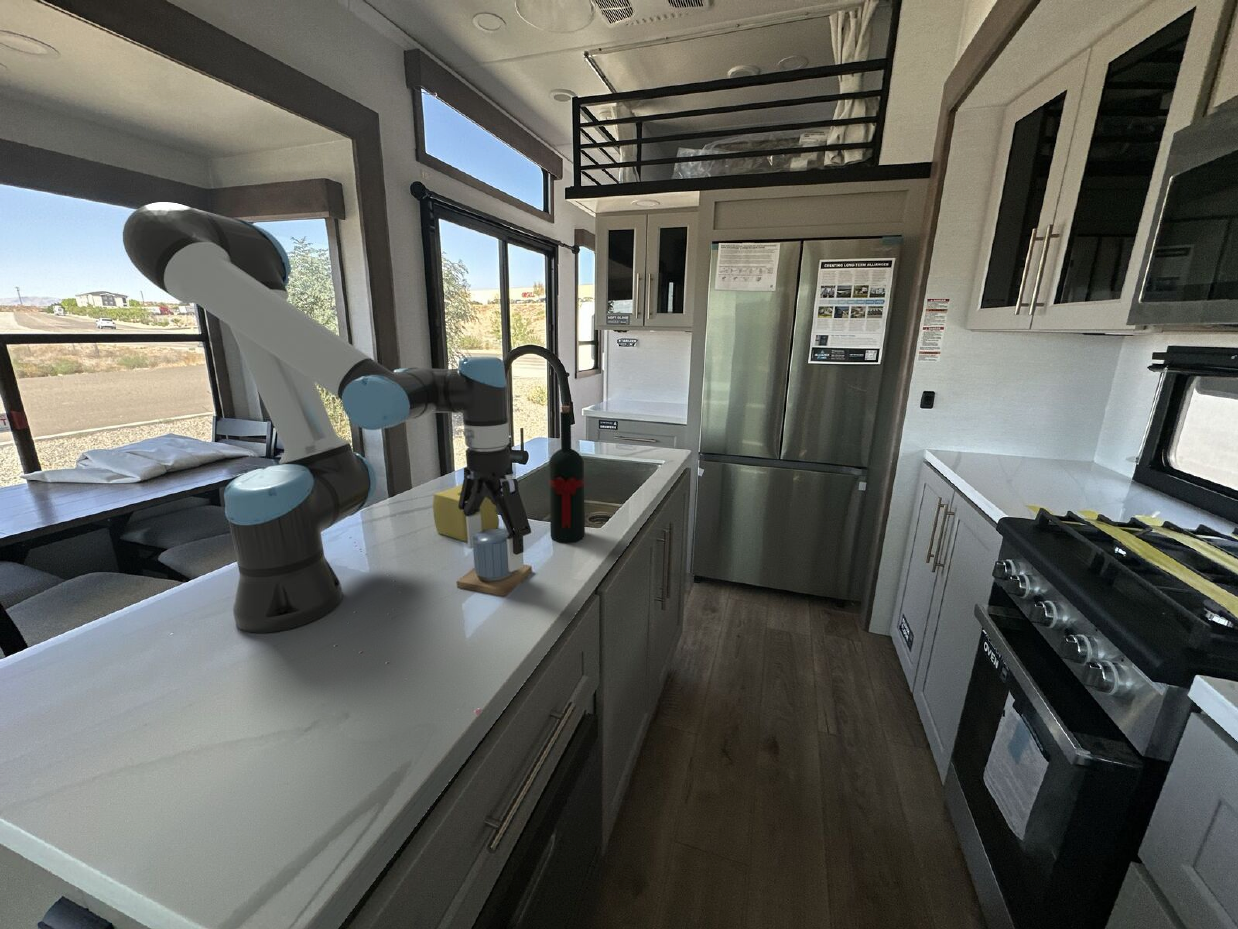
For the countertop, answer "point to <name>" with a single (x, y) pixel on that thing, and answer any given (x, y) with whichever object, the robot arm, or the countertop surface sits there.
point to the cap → (491, 553)
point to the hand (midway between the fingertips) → (494, 557)
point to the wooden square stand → (494, 581)
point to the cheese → (460, 514)
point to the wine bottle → (566, 488)
